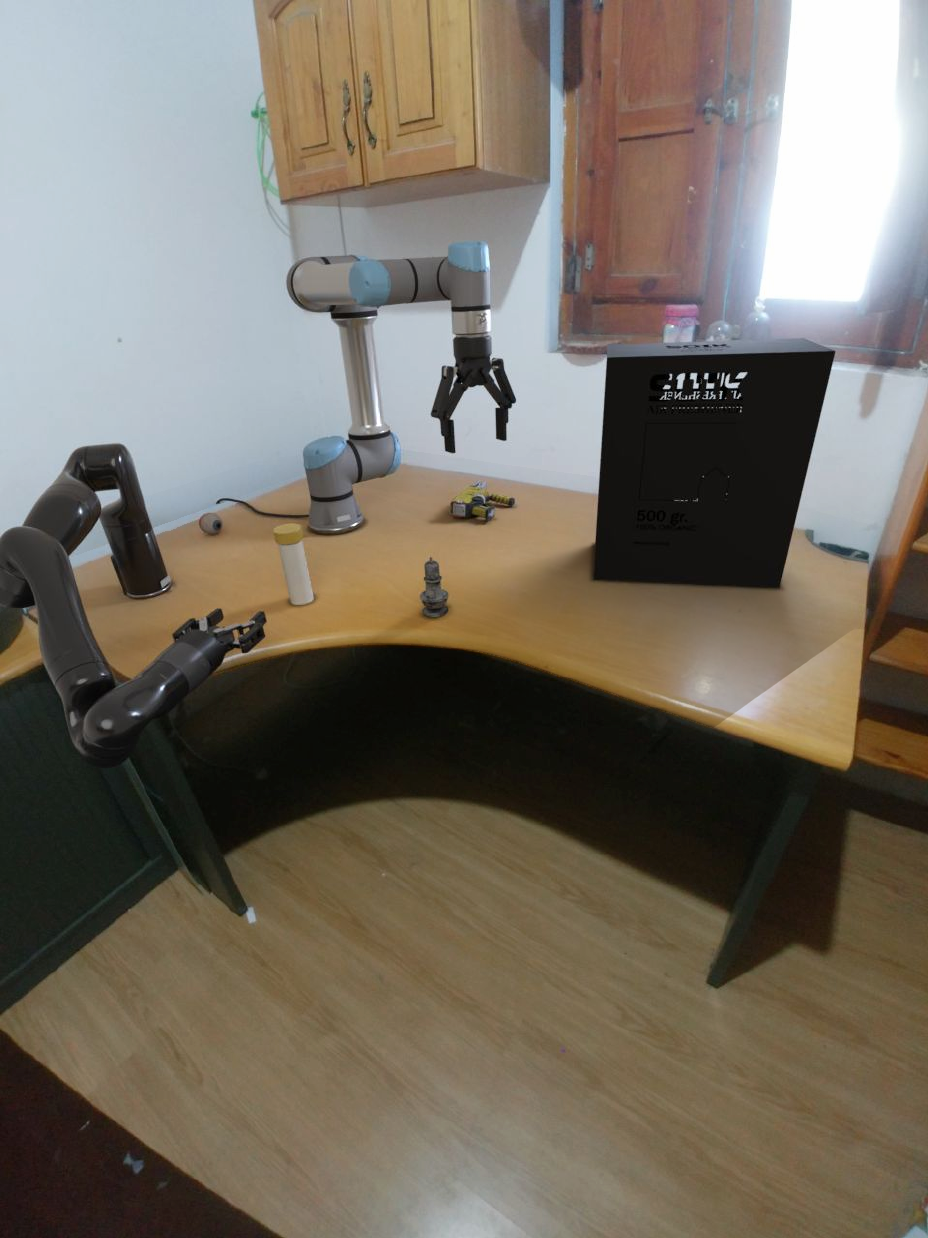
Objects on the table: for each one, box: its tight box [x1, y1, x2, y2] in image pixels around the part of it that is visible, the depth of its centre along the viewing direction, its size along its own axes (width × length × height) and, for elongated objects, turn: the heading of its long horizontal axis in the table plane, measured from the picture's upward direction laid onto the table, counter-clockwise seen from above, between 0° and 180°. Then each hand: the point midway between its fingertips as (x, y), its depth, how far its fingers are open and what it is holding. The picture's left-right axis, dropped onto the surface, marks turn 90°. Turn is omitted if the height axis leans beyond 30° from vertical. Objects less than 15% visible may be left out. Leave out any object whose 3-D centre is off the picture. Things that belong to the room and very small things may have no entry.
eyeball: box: [198, 512, 223, 536], centre depth 167 cm, size 6×6×6 cm
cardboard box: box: [592, 337, 836, 589], centre depth 125 cm, size 38×20×45 cm, turn 78°
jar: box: [277, 539, 315, 606], centre depth 127 cm, size 5×5×16 cm
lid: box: [272, 523, 304, 545], centre depth 123 cm, size 6×6×2 cm
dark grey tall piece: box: [419, 556, 450, 618], centre depth 120 cm, size 6×6×12 cm
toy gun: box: [449, 480, 516, 522], centre depth 174 cm, size 5×24×15 cm
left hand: (242, 614), depth 108 cm, fingers open, 8 cm apart
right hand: (476, 445), depth 127 cm, fingers open, 13 cm apart
